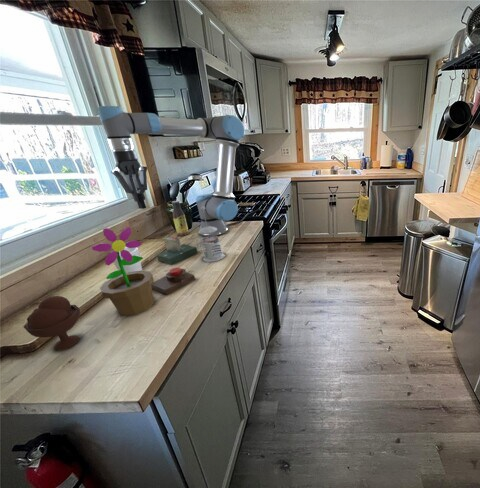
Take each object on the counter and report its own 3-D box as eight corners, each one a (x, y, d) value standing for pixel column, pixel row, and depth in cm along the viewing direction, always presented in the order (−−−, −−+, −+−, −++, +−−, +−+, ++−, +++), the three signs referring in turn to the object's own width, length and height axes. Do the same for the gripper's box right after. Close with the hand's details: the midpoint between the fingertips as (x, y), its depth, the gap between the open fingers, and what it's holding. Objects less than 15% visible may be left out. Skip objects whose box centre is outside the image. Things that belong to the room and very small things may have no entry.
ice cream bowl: (62, 331, 79) (39, 290, 73) (100, 328, 80) (81, 287, 74) (29, 359, 69) (-1, 314, 63) (73, 356, 70) (47, 311, 64)
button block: (179, 274, 110) (177, 266, 108) (195, 279, 105) (193, 270, 104) (151, 288, 100) (148, 279, 98) (167, 294, 96) (164, 285, 94)
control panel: (184, 249, 134) (182, 243, 133) (198, 252, 129) (196, 247, 128) (157, 260, 123) (155, 254, 121) (171, 264, 118) (169, 258, 117)
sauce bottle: (184, 236, 151) (175, 203, 143) (175, 236, 152) (165, 203, 144) (191, 232, 157) (183, 200, 149) (182, 232, 158) (174, 200, 150)
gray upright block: (167, 252, 124) (163, 238, 121) (170, 250, 126) (166, 236, 123) (179, 253, 122) (175, 238, 119) (182, 251, 124) (178, 237, 121)
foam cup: (152, 275, 109) (143, 247, 104) (131, 286, 101) (120, 257, 96) (136, 272, 112) (126, 245, 107) (115, 283, 104) (103, 254, 99)
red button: (177, 270, 105) (176, 266, 105) (184, 272, 103) (182, 268, 103) (168, 274, 102) (167, 271, 101) (174, 277, 100) (173, 273, 100)
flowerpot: (124, 325, 81) (86, 236, 69) (103, 312, 87) (64, 228, 75) (169, 300, 92) (142, 220, 80) (146, 290, 99) (119, 215, 87)
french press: (229, 254, 126) (219, 204, 116) (210, 265, 117) (197, 211, 107) (214, 251, 130) (203, 202, 120) (195, 261, 120) (181, 209, 110)
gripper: (110, 151, 95) (131, 213, 105) (145, 148, 106) (162, 205, 115) (99, 151, 98) (121, 211, 108) (135, 149, 109) (152, 203, 118)
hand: (142, 208), depth 111 cm, fingers closed
